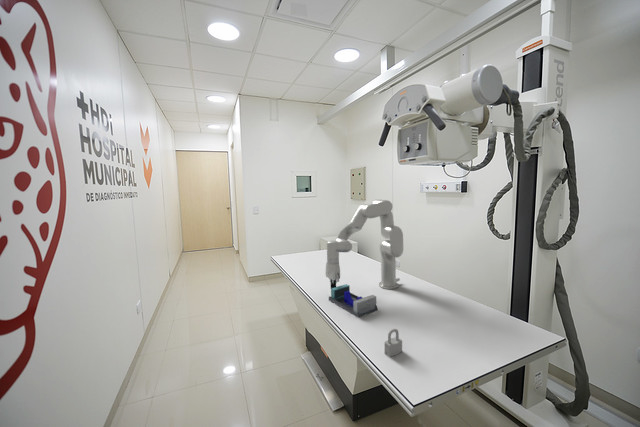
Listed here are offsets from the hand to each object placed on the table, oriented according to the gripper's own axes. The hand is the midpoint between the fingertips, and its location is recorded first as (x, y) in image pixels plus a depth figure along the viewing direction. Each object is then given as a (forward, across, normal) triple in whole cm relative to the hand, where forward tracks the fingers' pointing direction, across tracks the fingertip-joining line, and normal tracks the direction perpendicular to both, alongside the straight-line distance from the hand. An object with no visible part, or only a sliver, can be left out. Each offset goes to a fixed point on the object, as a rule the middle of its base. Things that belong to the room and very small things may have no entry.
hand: (333, 288), depth 166 cm
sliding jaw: (+3, +7, 0) cm, 7 cm away
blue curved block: (+3, +20, 0) cm, 20 cm away
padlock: (+5, +61, -15) cm, 63 cm away
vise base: (+4, +18, 0) cm, 18 cm away
